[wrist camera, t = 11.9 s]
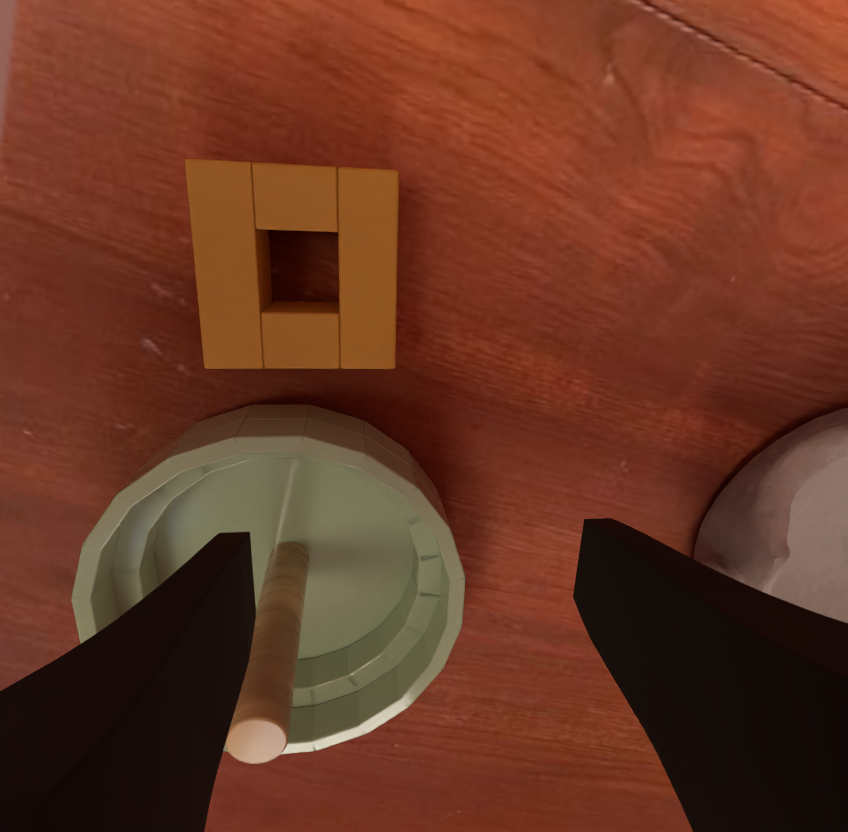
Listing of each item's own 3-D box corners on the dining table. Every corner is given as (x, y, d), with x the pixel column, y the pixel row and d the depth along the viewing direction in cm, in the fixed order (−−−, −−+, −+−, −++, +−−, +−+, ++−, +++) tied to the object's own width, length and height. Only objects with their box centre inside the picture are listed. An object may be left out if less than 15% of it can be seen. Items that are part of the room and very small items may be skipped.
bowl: (143, 686, 24) (105, 771, 20) (97, 400, 20) (38, 439, 16) (439, 665, 26) (454, 739, 22) (453, 398, 22) (476, 433, 18)
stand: (224, 349, 20) (204, 368, 17) (209, 169, 18) (183, 158, 15) (388, 350, 21) (395, 369, 18) (391, 179, 19) (399, 169, 16)
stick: (270, 576, 22) (227, 768, 14) (268, 542, 22) (222, 721, 14) (309, 574, 22) (289, 762, 15) (308, 540, 22) (286, 715, 14)
